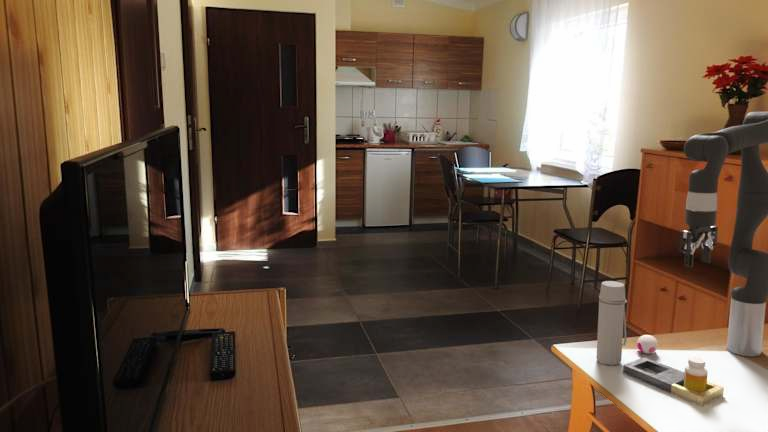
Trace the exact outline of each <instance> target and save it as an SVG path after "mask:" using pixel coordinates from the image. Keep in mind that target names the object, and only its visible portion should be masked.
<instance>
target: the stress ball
mask: <svg viewBox="0 0 768 432" xmlns="http://www.w3.org/2000/svg"><path fill="white" fill-rule="evenodd" d="M636 342H637V343H636V346H637V348H638V352H641V353H643V354H647V355H649V354H653V353H654V354H655V353H656V354H657V352H656V351H657V349H658V347H659V346H658V344H659V343H658V340H657V339H656V337H654V336H653V335H651V334H644V335H641V336H640V337H638V339H637V341H636Z"/></svg>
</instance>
